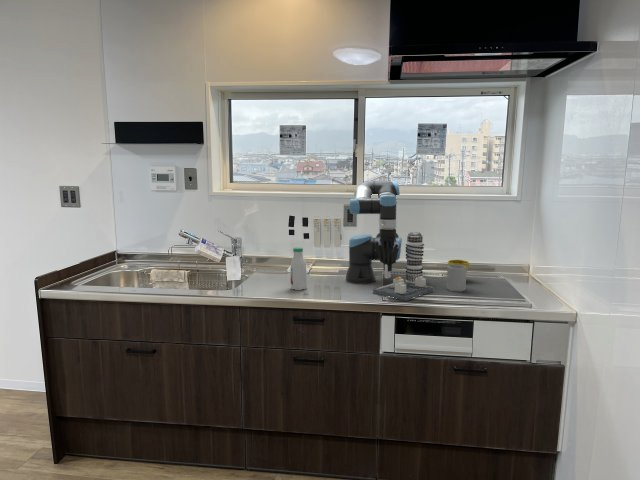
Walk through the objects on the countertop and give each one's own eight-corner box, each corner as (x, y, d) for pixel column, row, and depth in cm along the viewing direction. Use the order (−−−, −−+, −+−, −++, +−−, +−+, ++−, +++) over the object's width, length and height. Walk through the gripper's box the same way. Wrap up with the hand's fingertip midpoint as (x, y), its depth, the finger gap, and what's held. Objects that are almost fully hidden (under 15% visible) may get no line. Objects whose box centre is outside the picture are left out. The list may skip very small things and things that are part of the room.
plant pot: (466, 283, 220) (466, 264, 219) (445, 281, 225) (445, 262, 224) (470, 279, 229) (471, 260, 228) (450, 277, 234) (450, 258, 233)
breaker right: (414, 285, 209) (415, 276, 208) (418, 284, 211) (418, 275, 210) (422, 287, 206) (422, 278, 205) (425, 285, 208) (426, 276, 207)
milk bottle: (309, 287, 217) (308, 247, 214) (302, 291, 210) (301, 249, 207) (295, 286, 220) (294, 246, 217) (288, 289, 213) (287, 248, 211)
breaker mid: (393, 286, 208) (393, 277, 207) (396, 285, 210) (396, 276, 209) (400, 287, 205) (400, 278, 204) (403, 286, 207) (404, 277, 206)
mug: (466, 291, 205) (467, 268, 204) (447, 291, 207) (448, 268, 205) (463, 285, 217) (464, 263, 215) (445, 284, 219) (446, 262, 217)
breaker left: (394, 292, 198) (394, 282, 197) (398, 291, 200) (398, 281, 199) (402, 293, 195) (402, 284, 194) (406, 292, 197) (406, 283, 196)
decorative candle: (423, 283, 221) (424, 234, 217) (404, 283, 222) (405, 233, 219) (423, 279, 230) (424, 231, 226) (404, 279, 231) (405, 231, 228)
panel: (373, 293, 205) (373, 288, 204) (400, 284, 220) (401, 280, 219) (405, 301, 192) (405, 295, 192) (433, 291, 207) (433, 286, 207)
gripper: (371, 228, 210) (371, 277, 213) (394, 230, 201) (394, 281, 204) (381, 226, 215) (381, 274, 218) (404, 228, 206) (403, 278, 209)
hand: (387, 277), depth 211 cm, fingers closed
